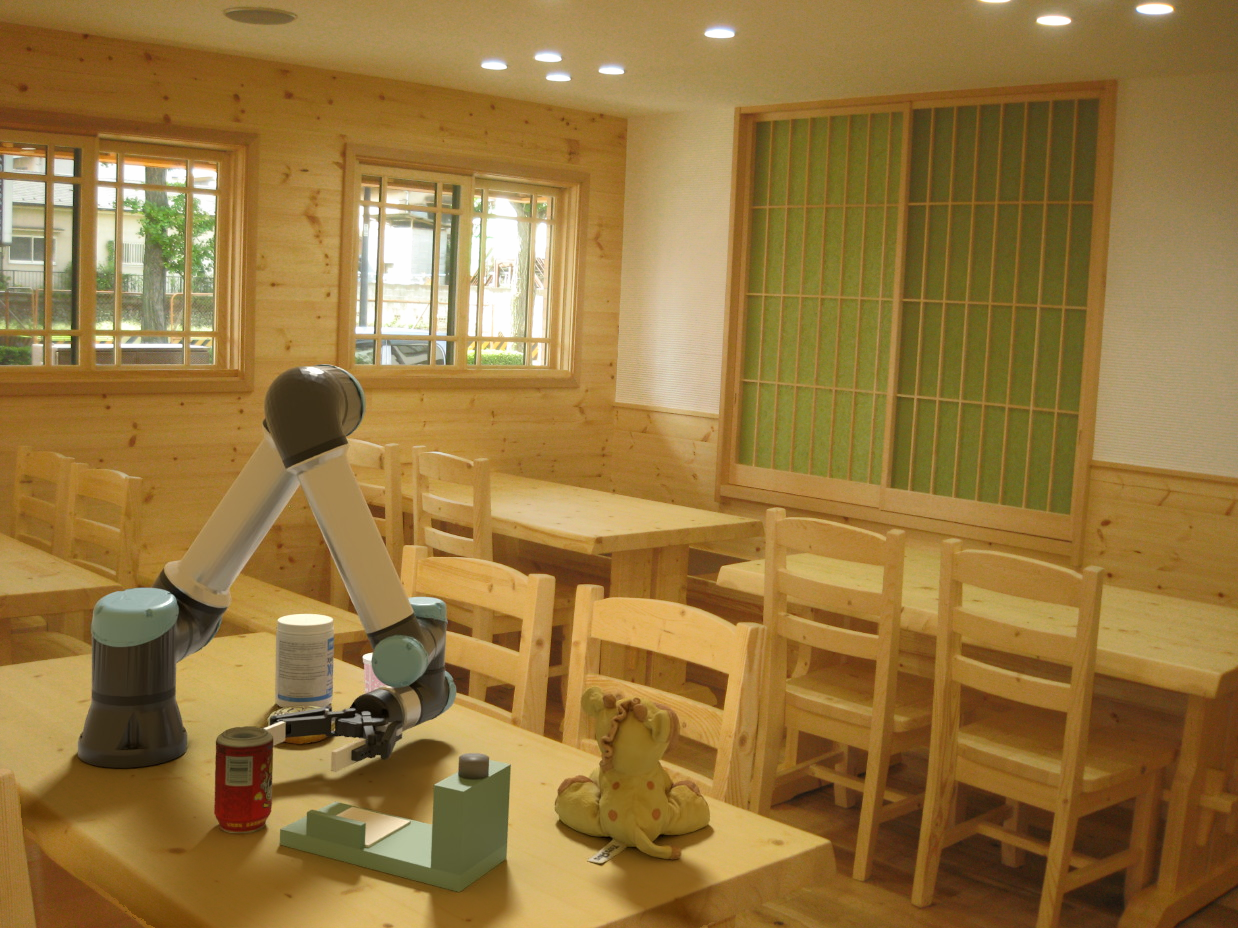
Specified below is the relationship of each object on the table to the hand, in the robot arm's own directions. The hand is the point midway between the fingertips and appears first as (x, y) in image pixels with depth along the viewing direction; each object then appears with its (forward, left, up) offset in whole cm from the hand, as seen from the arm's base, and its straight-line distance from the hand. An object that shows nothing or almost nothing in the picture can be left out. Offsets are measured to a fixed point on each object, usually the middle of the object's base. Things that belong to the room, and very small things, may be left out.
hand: (291, 752), depth 169 cm
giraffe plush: (+43, +17, -7) cm, 47 cm away
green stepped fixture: (+21, -6, -7) cm, 23 cm away
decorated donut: (-17, +24, -7) cm, 30 cm away
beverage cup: (-15, +42, -7) cm, 45 cm away
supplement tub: (-27, +37, -7) cm, 46 cm away
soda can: (0, -9, -7) cm, 12 cm away
